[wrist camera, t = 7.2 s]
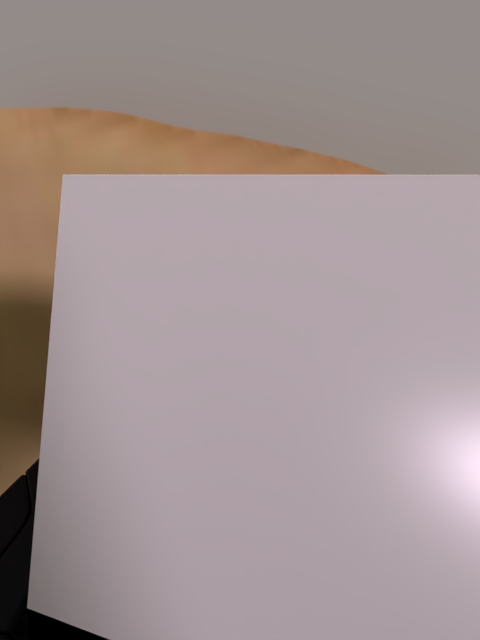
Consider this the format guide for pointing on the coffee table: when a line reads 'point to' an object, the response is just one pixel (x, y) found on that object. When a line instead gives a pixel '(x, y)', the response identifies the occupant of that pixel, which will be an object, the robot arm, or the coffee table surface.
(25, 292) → the coffee table surface
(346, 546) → the pale grey block
